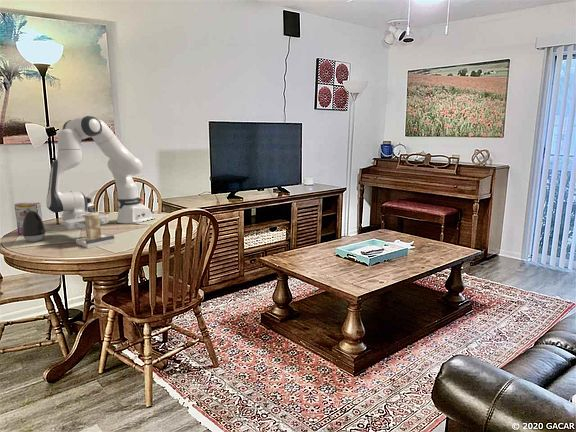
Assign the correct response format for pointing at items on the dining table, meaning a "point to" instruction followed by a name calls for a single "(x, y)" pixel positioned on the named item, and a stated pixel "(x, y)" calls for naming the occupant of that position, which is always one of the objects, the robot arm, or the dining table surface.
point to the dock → (95, 241)
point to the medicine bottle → (90, 205)
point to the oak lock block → (92, 226)
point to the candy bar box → (25, 207)
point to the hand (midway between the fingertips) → (93, 224)
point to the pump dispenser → (33, 227)
